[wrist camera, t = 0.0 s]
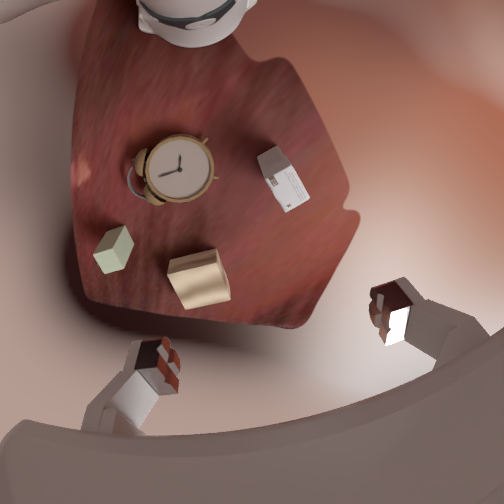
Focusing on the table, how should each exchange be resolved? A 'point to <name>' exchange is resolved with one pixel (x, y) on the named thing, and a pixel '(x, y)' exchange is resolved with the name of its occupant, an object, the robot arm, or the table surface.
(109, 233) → the sage block
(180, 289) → the birch block
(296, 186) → the skincare box
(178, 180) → the alarm clock
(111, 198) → the table surface
